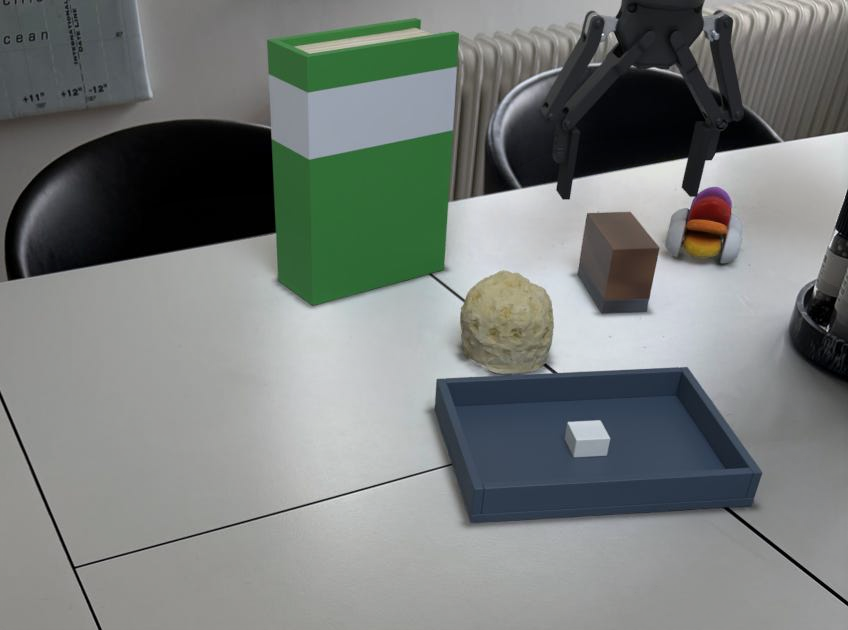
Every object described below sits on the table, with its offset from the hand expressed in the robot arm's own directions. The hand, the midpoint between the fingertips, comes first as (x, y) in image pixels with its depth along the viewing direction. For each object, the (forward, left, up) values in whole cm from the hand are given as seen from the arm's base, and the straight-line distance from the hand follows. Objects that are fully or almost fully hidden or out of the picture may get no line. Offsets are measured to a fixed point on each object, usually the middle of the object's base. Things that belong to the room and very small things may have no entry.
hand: (626, 193), depth 108 cm
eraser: (0, 0, -11) cm, 11 cm away
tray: (+12, +32, -11) cm, 36 cm away
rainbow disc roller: (-14, -10, -11) cm, 20 cm away
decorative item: (+15, +13, -11) cm, 23 cm away
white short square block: (+12, +32, -10) cm, 36 cm away
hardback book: (+27, -7, -11) cm, 30 cm away
